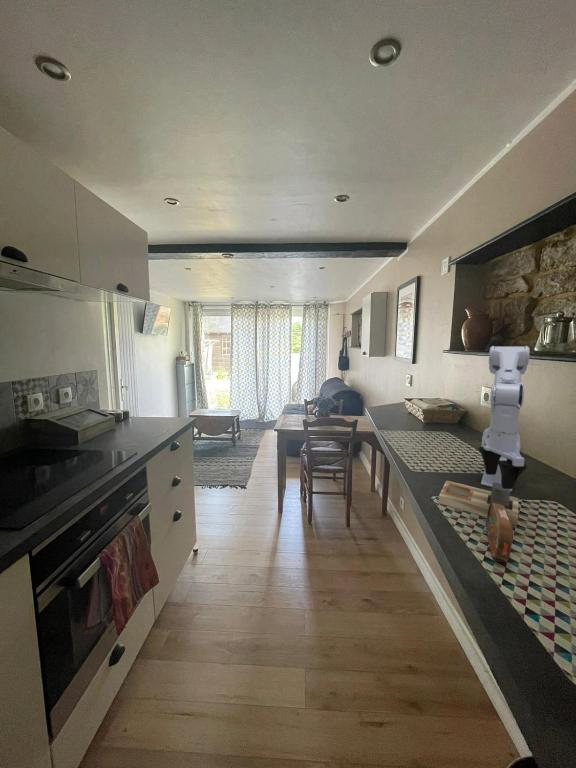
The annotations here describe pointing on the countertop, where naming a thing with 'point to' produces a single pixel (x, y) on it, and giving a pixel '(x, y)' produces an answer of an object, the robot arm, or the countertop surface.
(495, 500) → the grey rectangular block
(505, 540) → the tin
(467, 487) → the rail plate
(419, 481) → the countertop surface
